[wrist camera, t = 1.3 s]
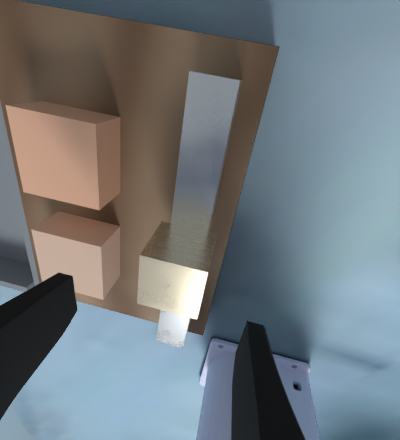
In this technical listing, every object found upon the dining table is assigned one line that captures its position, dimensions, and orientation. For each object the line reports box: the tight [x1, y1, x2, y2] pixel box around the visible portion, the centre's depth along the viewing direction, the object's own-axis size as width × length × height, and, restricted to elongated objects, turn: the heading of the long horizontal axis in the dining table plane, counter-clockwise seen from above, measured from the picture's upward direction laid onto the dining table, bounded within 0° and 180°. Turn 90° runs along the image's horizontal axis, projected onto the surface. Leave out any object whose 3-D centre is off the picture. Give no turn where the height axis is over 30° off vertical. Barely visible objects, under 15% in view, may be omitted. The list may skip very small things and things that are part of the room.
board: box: [0, 0, 279, 335], centre depth 18 cm, size 14×20×2 cm
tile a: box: [5, 101, 120, 210], centre depth 14 cm, size 4×4×2 cm
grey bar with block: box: [137, 71, 243, 348], centre depth 14 cm, size 3×17×6 cm, turn 171°
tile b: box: [31, 211, 120, 300], centre depth 17 cm, size 4×4×2 cm
